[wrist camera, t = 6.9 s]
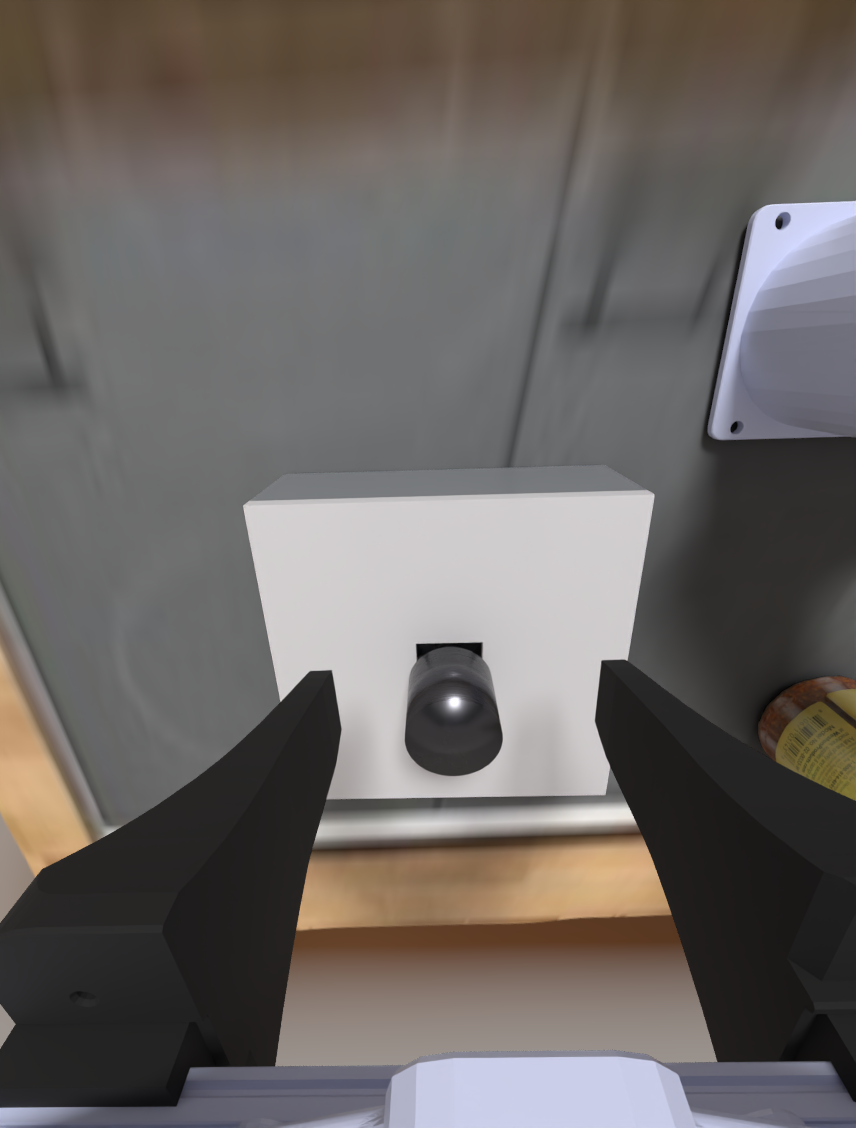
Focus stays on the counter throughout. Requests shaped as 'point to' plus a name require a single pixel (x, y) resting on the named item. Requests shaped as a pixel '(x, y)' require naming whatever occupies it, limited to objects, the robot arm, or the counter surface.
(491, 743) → the plunger
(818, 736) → the sauce bottle
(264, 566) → the slotted white block
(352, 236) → the counter surface
